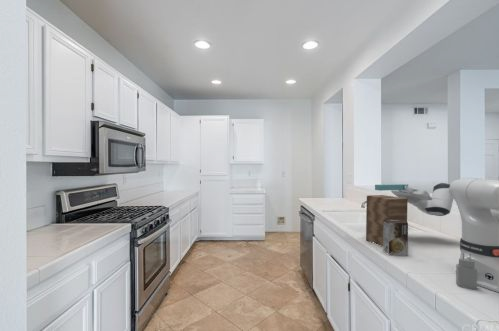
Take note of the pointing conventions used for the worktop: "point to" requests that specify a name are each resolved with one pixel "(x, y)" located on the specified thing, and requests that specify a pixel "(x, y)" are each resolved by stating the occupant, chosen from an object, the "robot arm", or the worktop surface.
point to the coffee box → (395, 237)
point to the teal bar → (390, 187)
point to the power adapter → (466, 273)
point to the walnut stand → (383, 214)
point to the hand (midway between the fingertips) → (400, 186)
